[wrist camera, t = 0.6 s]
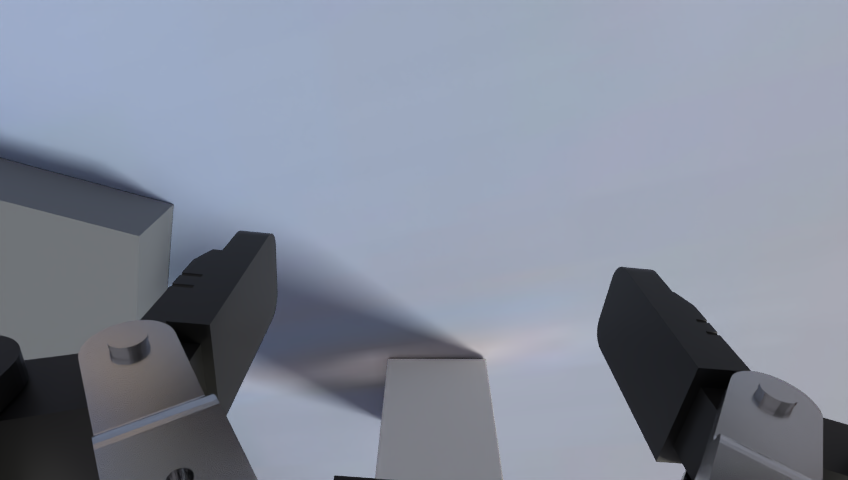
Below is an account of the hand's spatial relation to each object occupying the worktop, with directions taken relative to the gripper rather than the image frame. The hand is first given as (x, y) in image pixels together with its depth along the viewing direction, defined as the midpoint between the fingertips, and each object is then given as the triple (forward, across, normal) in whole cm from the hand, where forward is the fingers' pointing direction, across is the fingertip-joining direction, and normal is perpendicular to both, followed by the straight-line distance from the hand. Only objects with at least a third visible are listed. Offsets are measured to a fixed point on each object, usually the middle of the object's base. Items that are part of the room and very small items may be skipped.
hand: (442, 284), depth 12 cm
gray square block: (+18, +23, +12) cm, 32 cm away
